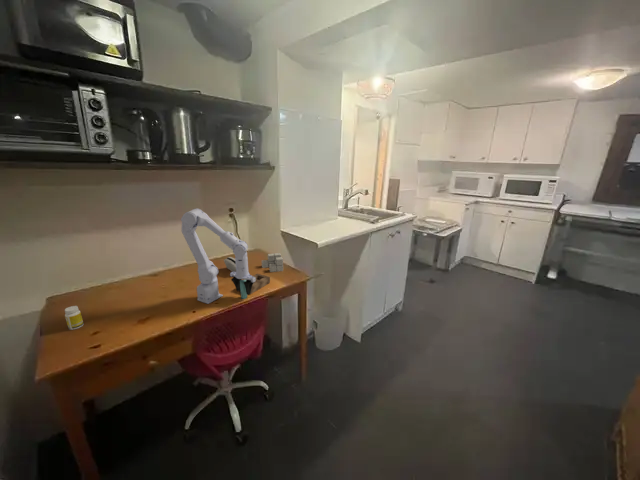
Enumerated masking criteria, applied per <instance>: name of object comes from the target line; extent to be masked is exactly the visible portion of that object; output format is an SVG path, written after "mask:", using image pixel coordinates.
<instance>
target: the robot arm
mask: <svg viewBox="0 0 640 480" xmlns="http://www.w3.org/2000/svg"><path fill="white" fill-rule="evenodd" d="M180 221H181V233H182V235H183V237H184V240H185V242H186V244H187V246H188V247H189V249H190V252H191V253H192V256H193V258H194V260H195V262H196V264H197V273H198V280H199V281H200V284H198V285H197V286H196V293H197V298H196V300H197V301H199V302H201V303H204V304H208V305H209V304H211V303H212V302H215V301H216V300H219V299H220V298H222V297H223V296H224V295H223V294H221V293H220V292H219V291H220V290H219V282H218V281H219V280H218V277H217V276H218V275H219V268H218V267H217V266H216V265H215V264H214V262H213V261H211V260H210V259H209V257H208V255H207V253H206V250H205V249H204V246H203V244H202V242H201V239H200V238H199V235H198V233H197V232H196V229H198V227H205V228H207V229H208V230H210V231H211V232H212V233H214V234H216V236H218V237H219V239H220V241H221V242H222V243H223V244H224V245H226V246H227V247H228V248H229V249H231V250H232V253H233V255H234V259H235V263H236V272H233V271H230V274H229V276H230V277H231V279H230V280H231V282H232V283H233V284H234V286H235V290H236V291H237V292H241V291H240V280H247V281H245V282H244V285H245V288H246V294H247V296H248V295H251V294H250V293H251V288H252V285H253V283H254V282H255V281H256V278H255V277H253V276H254V275H252V274H250V272H249V259H248V252H247V251H248V248H249V244H248V243H247V242H246V241H244V240H242V239H239V238H238V237H237V236H235V235H234V232H231V231H229V230H227V231H225V230H224V229H223V228H222V227H221V226H220V225H219V224H218V223H216V222H215V221H214V220H213V219H212V218H210V216H209V215H208V214H207V213H206V212H205V211H203V210H202V209H200V208H198V207H197V208H193V209H191V210H190V211H186V212H185V213H183V215H182V216H181V218H180Z"/></svg>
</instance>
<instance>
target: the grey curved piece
mask: <svg viewBox="0 0 640 480" xmlns="http://www.w3.org/2000/svg"><path fill="white" fill-rule="evenodd" d="M223 262H224V264H225V267H226V269H228V270H230V272H236V263H235V257H232V256H228V257H226V258H225V259H223Z"/></svg>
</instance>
